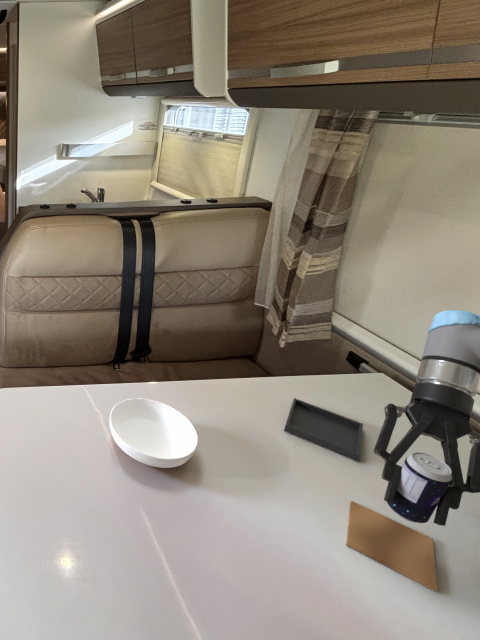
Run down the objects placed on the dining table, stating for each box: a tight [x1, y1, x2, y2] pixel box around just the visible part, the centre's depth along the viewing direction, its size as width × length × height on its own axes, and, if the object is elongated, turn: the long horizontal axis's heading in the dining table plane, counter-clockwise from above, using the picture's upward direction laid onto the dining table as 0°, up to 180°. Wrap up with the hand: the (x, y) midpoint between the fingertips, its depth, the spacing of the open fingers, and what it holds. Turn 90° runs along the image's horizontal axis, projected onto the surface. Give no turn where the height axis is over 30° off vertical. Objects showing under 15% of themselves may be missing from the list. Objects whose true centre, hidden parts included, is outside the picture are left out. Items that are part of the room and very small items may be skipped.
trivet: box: [345, 500, 439, 593], centre depth 81 cm, size 12×12×1 cm
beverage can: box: [386, 451, 452, 524], centre depth 76 cm, size 6×6×12 cm
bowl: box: [109, 397, 199, 469], centre depth 102 cm, size 20×20×6 cm
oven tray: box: [283, 398, 364, 463], centre depth 107 cm, size 14×13×2 cm
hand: (413, 512), depth 74 cm, fingers closed on beverage can, 6 cm apart
